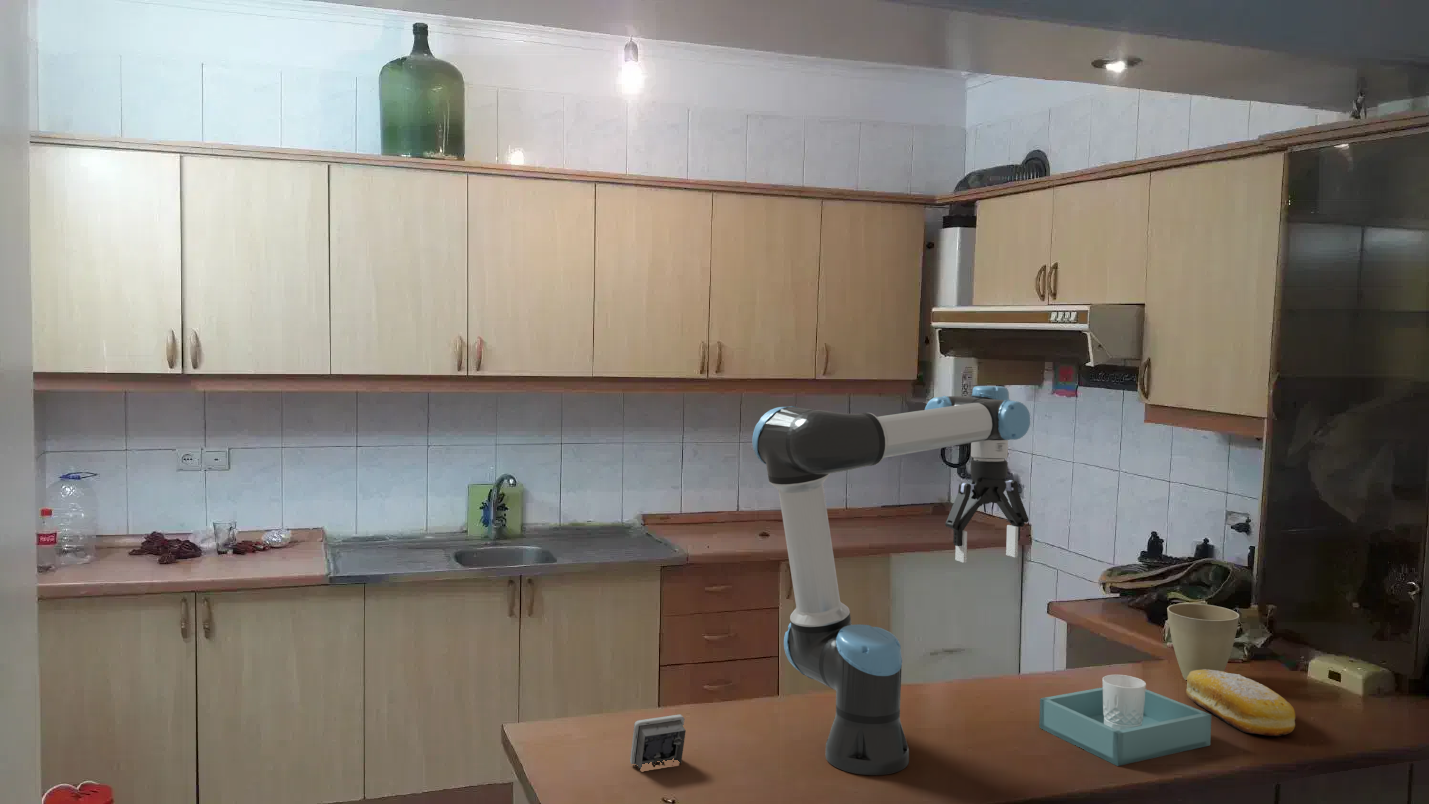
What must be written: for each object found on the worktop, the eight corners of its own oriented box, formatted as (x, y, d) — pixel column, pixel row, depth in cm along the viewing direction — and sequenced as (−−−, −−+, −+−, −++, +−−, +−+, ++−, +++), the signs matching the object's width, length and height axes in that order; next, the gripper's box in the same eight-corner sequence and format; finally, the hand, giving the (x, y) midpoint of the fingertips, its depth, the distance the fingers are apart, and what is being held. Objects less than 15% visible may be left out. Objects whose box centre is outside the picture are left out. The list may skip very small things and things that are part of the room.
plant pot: (1183, 665, 245) (1186, 599, 244) (1248, 681, 233) (1250, 612, 232) (1152, 678, 235) (1154, 609, 234) (1218, 695, 224) (1221, 623, 223)
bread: (1248, 743, 198) (1250, 702, 197) (1169, 696, 224) (1171, 660, 223) (1311, 740, 200) (1313, 700, 199) (1226, 694, 226) (1227, 658, 225)
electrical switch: (677, 757, 188) (679, 709, 186) (688, 771, 183) (690, 722, 182) (629, 765, 184) (630, 716, 183) (638, 779, 179) (640, 729, 178)
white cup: (1153, 735, 198) (1155, 684, 197) (1121, 741, 195) (1123, 689, 194) (1122, 721, 205) (1124, 672, 204) (1091, 727, 202) (1093, 677, 201)
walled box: (1117, 766, 186) (1118, 733, 185) (1039, 728, 204) (1040, 698, 203) (1210, 745, 196) (1211, 714, 196) (1127, 710, 214) (1128, 682, 214)
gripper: (952, 463, 208) (950, 567, 209) (1047, 458, 218) (1044, 557, 219) (929, 459, 214) (927, 559, 216) (1022, 455, 225) (1020, 550, 226)
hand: (986, 558), depth 217 cm, fingers open, 13 cm apart
